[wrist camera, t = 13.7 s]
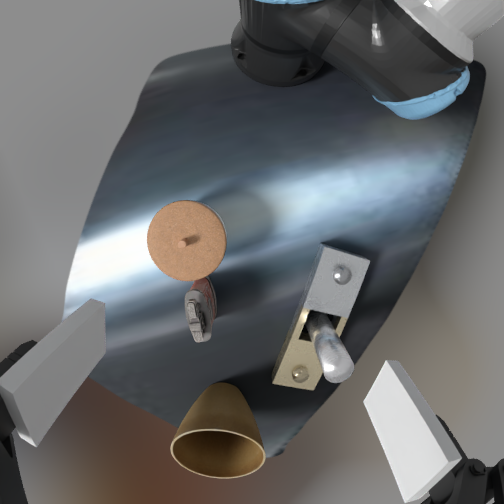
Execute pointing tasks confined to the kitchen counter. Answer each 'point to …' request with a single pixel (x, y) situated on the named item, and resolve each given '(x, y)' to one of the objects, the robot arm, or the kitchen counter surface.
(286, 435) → the kitchen counter surface
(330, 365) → the pin
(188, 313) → the lighter
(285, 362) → the frame
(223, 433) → the plant pot
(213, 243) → the lidded jar
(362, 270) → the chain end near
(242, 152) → the kitchen counter surface
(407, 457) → the robot arm
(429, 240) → the kitchen counter surface
